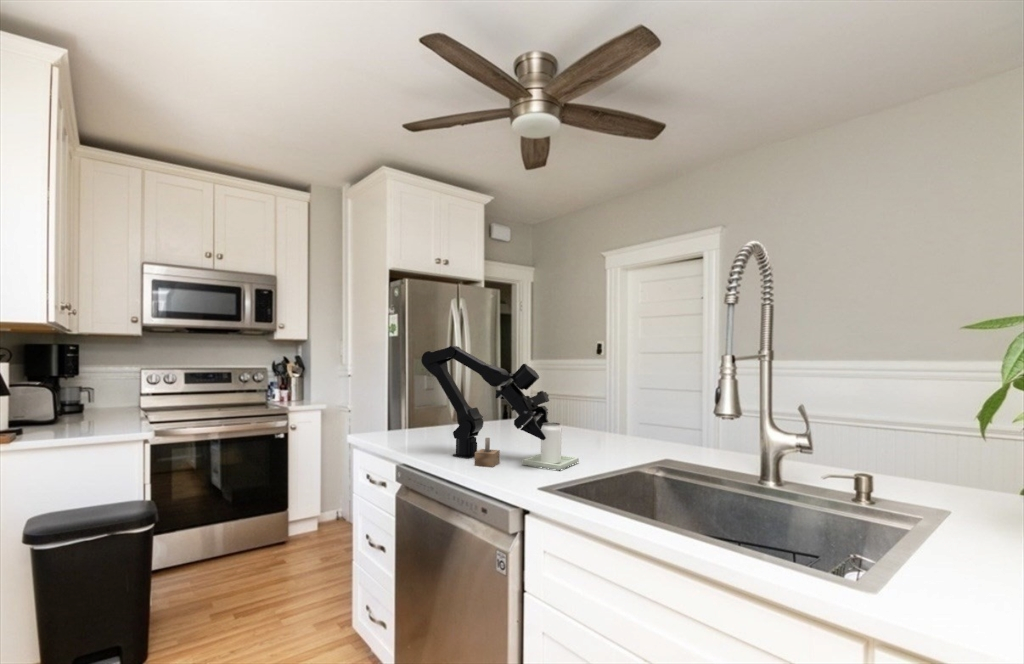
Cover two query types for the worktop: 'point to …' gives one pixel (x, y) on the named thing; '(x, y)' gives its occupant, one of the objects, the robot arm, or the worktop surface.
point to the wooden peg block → (487, 456)
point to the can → (551, 443)
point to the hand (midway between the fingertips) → (549, 436)
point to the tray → (537, 462)
